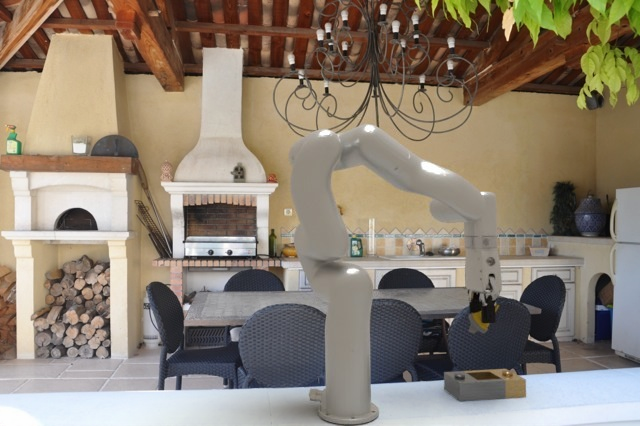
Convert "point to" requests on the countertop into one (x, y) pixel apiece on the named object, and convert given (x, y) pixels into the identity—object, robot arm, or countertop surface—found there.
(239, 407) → the countertop surface
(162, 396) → the countertop surface
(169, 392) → the countertop surface
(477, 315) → the yellow tiered cone
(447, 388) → the metal strike plate
